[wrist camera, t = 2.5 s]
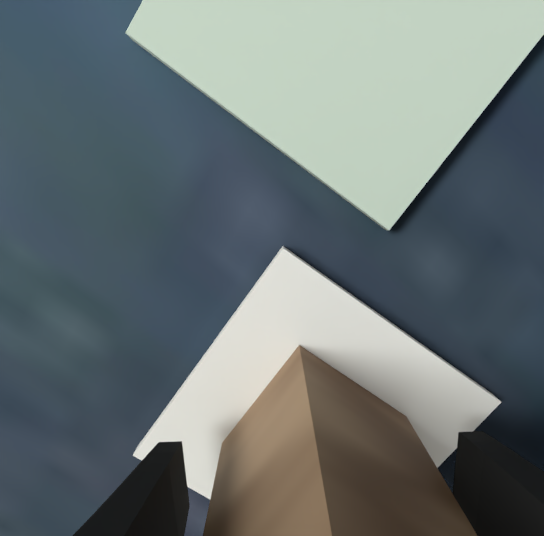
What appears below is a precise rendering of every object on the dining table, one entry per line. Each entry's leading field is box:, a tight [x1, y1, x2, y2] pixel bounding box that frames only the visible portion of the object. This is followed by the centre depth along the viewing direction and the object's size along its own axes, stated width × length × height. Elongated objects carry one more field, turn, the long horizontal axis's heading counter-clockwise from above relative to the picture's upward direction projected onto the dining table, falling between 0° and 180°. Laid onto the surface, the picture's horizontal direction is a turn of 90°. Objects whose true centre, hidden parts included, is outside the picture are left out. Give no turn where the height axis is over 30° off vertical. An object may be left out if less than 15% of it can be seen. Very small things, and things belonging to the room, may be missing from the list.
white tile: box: [133, 246, 501, 499], centre depth 10 cm, size 8×8×1 cm
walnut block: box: [203, 345, 477, 536], centre depth 7 cm, size 4×4×6 cm
